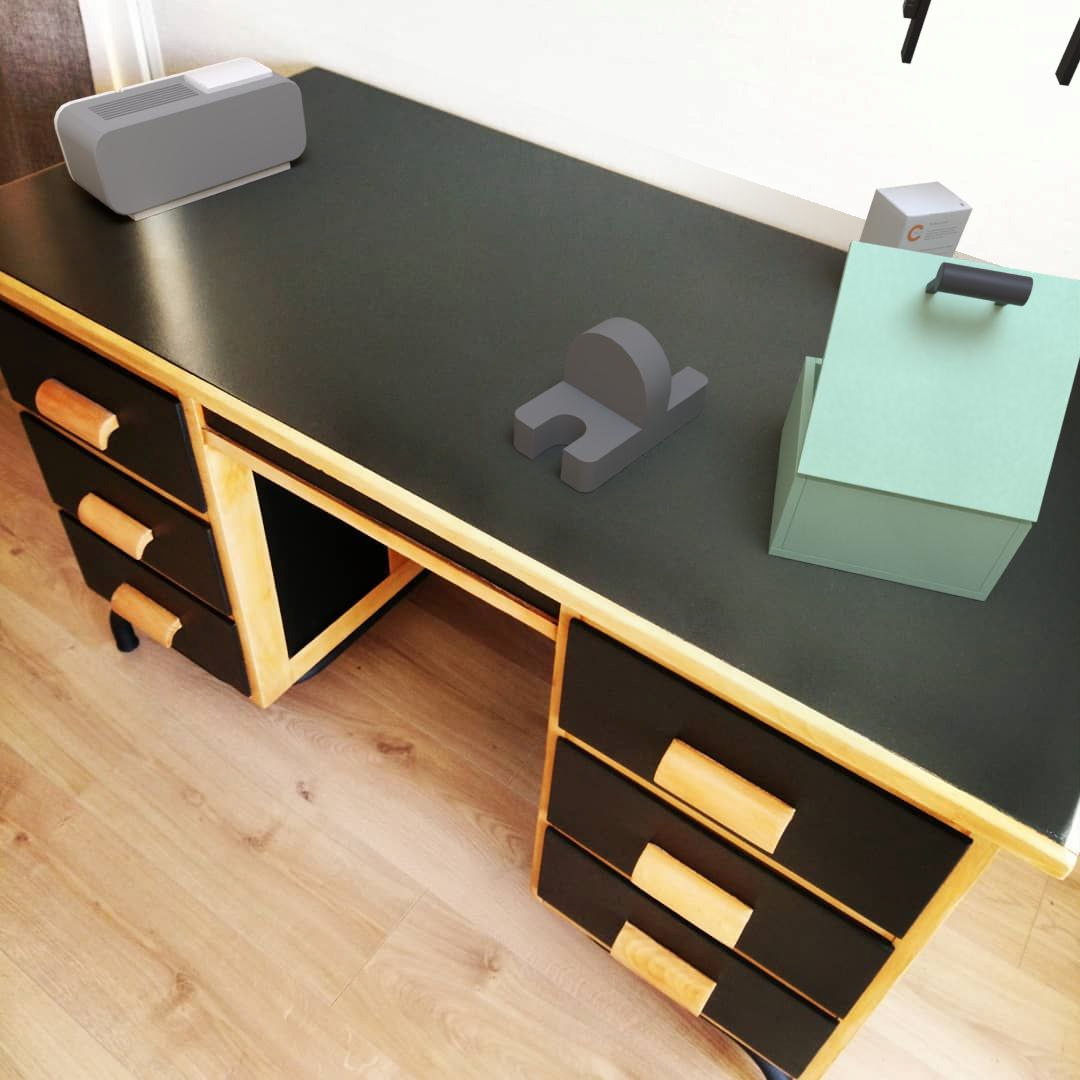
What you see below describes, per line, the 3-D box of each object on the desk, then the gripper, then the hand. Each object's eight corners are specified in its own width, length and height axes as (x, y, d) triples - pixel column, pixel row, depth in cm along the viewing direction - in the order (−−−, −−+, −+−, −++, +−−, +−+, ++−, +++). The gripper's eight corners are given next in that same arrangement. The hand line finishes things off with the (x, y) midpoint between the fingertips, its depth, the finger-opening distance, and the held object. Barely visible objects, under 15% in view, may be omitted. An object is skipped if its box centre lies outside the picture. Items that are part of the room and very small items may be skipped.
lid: (849, 242, 71) (865, 222, 65) (1094, 285, 69) (1132, 268, 63) (795, 473, 73) (805, 472, 67) (1032, 522, 70) (1064, 525, 65)
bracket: (507, 443, 87) (512, 346, 79) (631, 365, 96) (645, 272, 88) (585, 496, 83) (597, 399, 75) (706, 409, 92) (728, 314, 84)
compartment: (781, 431, 90) (806, 355, 84) (970, 469, 88) (1010, 394, 82) (767, 554, 79) (794, 477, 73) (984, 601, 77) (1032, 526, 70)
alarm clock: (269, 139, 127) (255, 46, 118) (310, 164, 123) (299, 68, 114) (77, 200, 113) (45, 99, 104) (116, 230, 109) (86, 127, 100)
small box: (898, 286, 110) (939, 179, 101) (930, 316, 106) (975, 207, 97) (839, 295, 108) (874, 187, 99) (869, 325, 104) (909, 216, 95)
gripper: (1265, -226, 69) (1119, 73, 85) (922, -261, 72) (842, 35, 88) (1298, -210, 64) (1137, 105, 80) (928, -249, 67) (842, 64, 82)
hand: (982, 69), depth 84 cm, fingers open, 13 cm apart
